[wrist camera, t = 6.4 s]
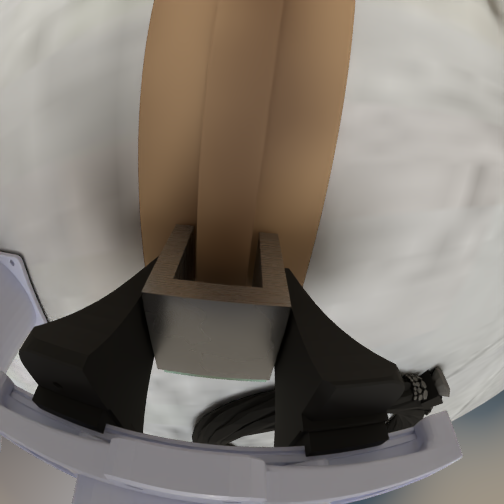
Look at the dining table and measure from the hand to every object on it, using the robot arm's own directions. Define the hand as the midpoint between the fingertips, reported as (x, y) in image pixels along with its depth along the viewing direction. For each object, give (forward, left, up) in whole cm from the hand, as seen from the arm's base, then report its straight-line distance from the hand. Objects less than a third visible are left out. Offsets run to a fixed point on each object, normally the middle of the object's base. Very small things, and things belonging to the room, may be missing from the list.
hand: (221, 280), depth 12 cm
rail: (0, +6, -2) cm, 6 cm away
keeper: (0, 0, -2) cm, 2 cm away
